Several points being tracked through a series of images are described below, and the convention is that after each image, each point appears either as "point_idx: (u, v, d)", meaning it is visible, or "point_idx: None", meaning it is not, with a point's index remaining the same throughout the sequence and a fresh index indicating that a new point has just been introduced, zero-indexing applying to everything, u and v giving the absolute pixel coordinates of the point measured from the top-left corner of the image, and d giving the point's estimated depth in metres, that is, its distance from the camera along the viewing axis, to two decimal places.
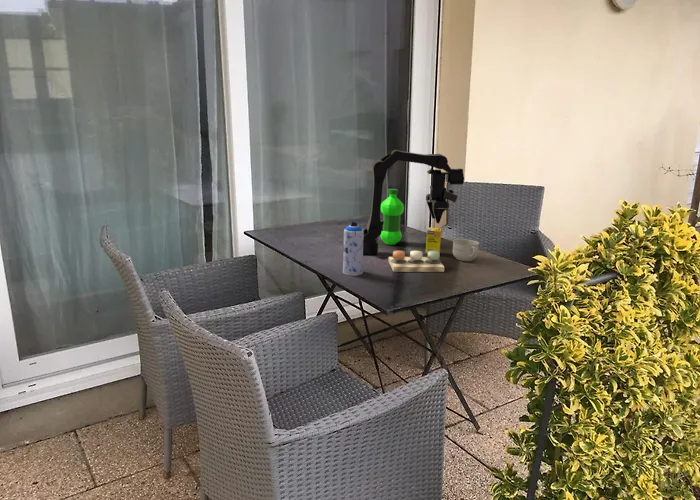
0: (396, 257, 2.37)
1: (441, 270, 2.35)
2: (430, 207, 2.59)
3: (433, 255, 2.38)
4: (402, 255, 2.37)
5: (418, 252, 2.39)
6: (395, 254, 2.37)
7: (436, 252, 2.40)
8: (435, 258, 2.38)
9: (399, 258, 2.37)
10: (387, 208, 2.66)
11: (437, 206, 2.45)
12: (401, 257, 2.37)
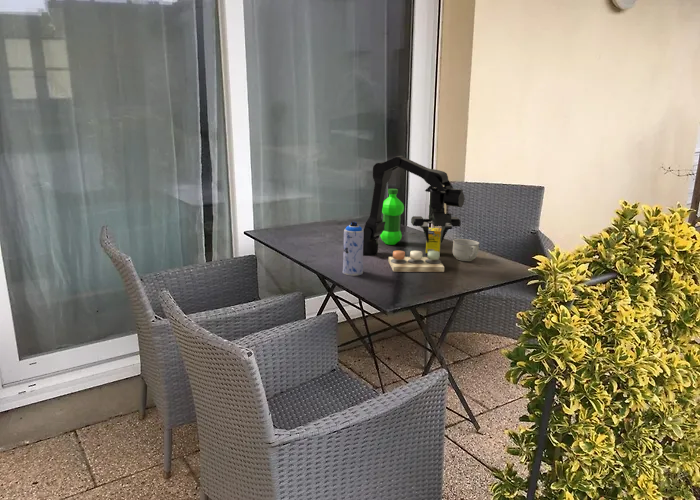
0: (396, 257, 2.37)
1: (441, 270, 2.35)
2: (441, 229, 2.40)
3: (433, 255, 2.38)
4: (402, 255, 2.37)
5: (418, 252, 2.39)
6: (395, 254, 2.37)
7: (436, 252, 2.40)
8: (435, 258, 2.38)
9: (399, 258, 2.37)
10: (387, 208, 2.66)
11: (411, 221, 2.38)
12: (401, 257, 2.37)
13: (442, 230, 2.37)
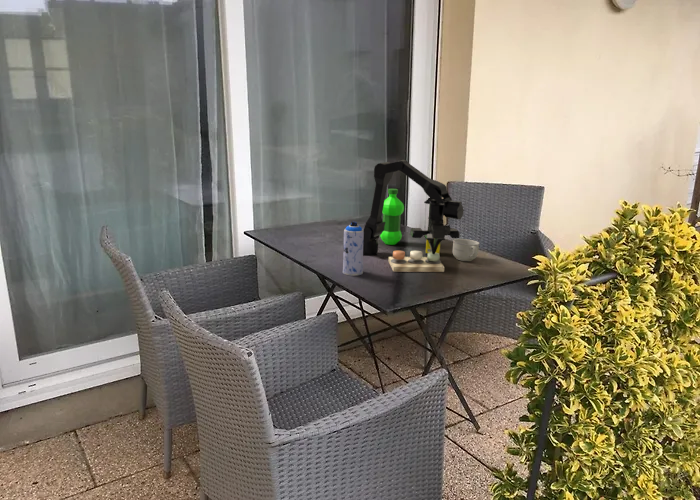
0: (396, 257, 2.37)
1: (441, 270, 2.35)
2: (434, 241, 2.41)
3: (433, 257, 2.38)
4: (402, 255, 2.37)
5: (418, 252, 2.39)
6: (395, 254, 2.37)
7: (436, 254, 2.40)
8: (435, 260, 2.39)
9: (399, 258, 2.37)
10: (387, 208, 2.66)
11: (410, 233, 2.39)
12: (401, 257, 2.37)
13: (435, 242, 2.38)
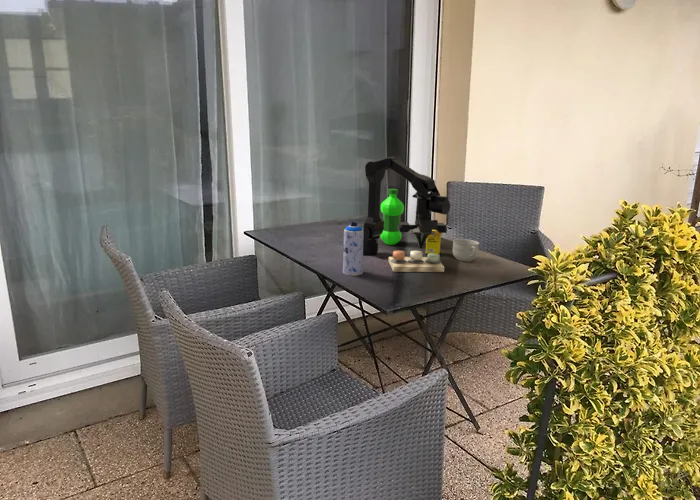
0: (396, 257, 2.37)
1: (441, 270, 2.35)
2: (421, 235, 2.40)
3: (433, 258, 2.38)
4: (402, 255, 2.37)
5: (418, 252, 2.39)
6: (395, 254, 2.37)
7: (436, 255, 2.40)
8: (435, 261, 2.39)
9: (399, 258, 2.37)
10: (387, 208, 2.66)
11: (398, 227, 2.38)
12: (401, 257, 2.37)
13: (423, 236, 2.38)
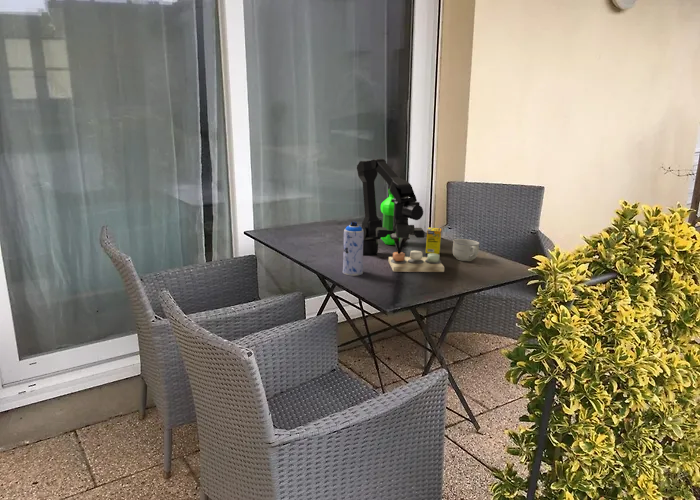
0: (396, 258, 2.37)
1: (441, 270, 2.35)
2: (400, 240, 2.39)
3: (433, 258, 2.38)
4: (402, 256, 2.37)
5: (418, 252, 2.39)
6: (395, 255, 2.37)
7: (436, 255, 2.40)
8: (435, 261, 2.39)
9: (399, 259, 2.37)
10: (387, 208, 2.66)
11: None
12: (401, 258, 2.37)
13: (401, 241, 2.37)
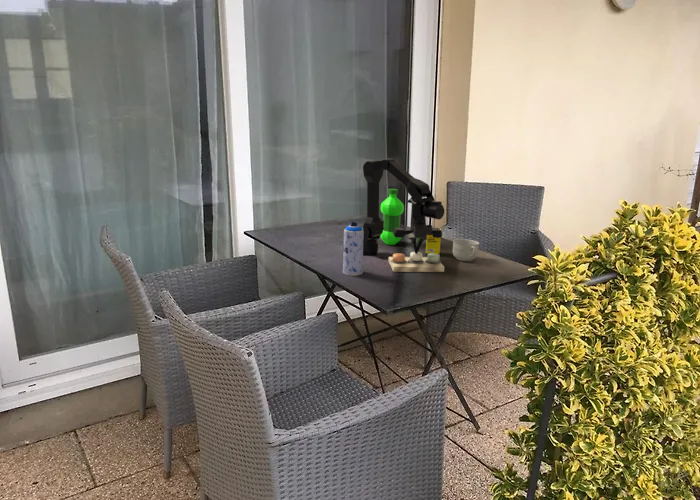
0: (396, 260, 2.38)
1: (441, 270, 2.35)
2: (417, 240, 2.40)
3: (433, 258, 2.38)
4: (402, 258, 2.38)
5: (418, 253, 2.40)
6: (395, 257, 2.38)
7: (436, 255, 2.40)
8: (435, 261, 2.39)
9: (399, 261, 2.37)
10: (387, 208, 2.66)
11: (393, 232, 2.38)
12: (401, 260, 2.37)
13: (418, 242, 2.38)
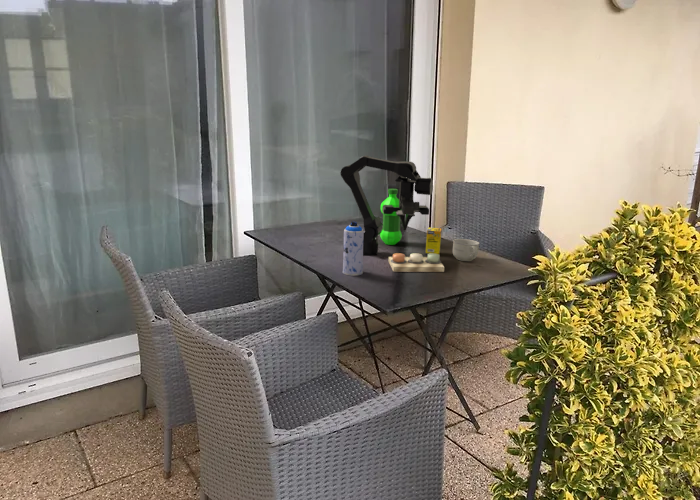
0: (396, 260, 2.38)
1: (441, 270, 2.35)
2: (405, 217, 2.50)
3: (433, 258, 2.38)
4: (402, 258, 2.38)
5: (418, 254, 2.40)
6: (395, 257, 2.38)
7: (436, 255, 2.40)
8: (435, 261, 2.39)
9: (399, 261, 2.37)
10: None
11: (382, 209, 2.49)
12: (401, 260, 2.37)
13: (406, 218, 2.48)
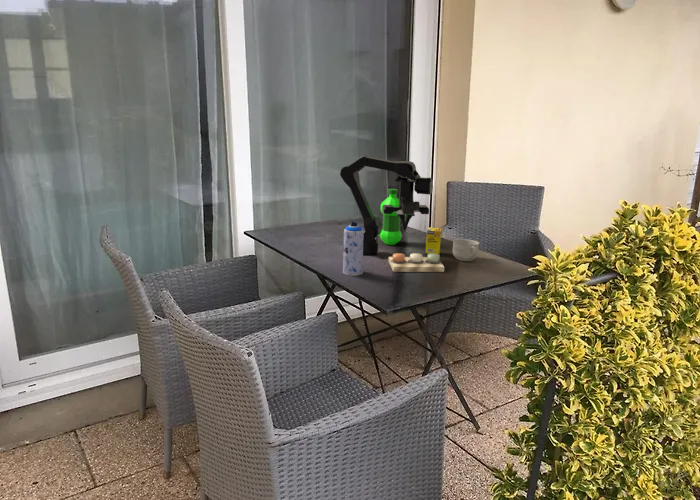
0: (396, 260, 2.38)
1: (441, 270, 2.35)
2: (405, 217, 2.50)
3: (433, 258, 2.38)
4: (402, 258, 2.38)
5: (418, 254, 2.40)
6: (395, 257, 2.38)
7: (436, 255, 2.40)
8: (435, 261, 2.39)
9: (399, 261, 2.37)
10: None
11: (382, 209, 2.49)
12: (401, 260, 2.37)
13: (406, 218, 2.48)
